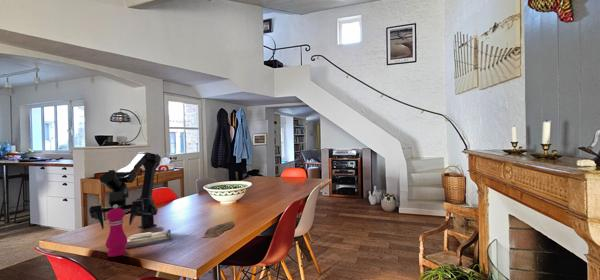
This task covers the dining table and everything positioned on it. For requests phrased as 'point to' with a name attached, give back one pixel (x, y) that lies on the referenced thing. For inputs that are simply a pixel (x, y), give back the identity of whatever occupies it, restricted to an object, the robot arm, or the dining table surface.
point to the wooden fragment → (218, 229)
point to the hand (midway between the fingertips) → (116, 226)
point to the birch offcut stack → (145, 238)
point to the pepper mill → (116, 232)
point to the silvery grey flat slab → (153, 241)
